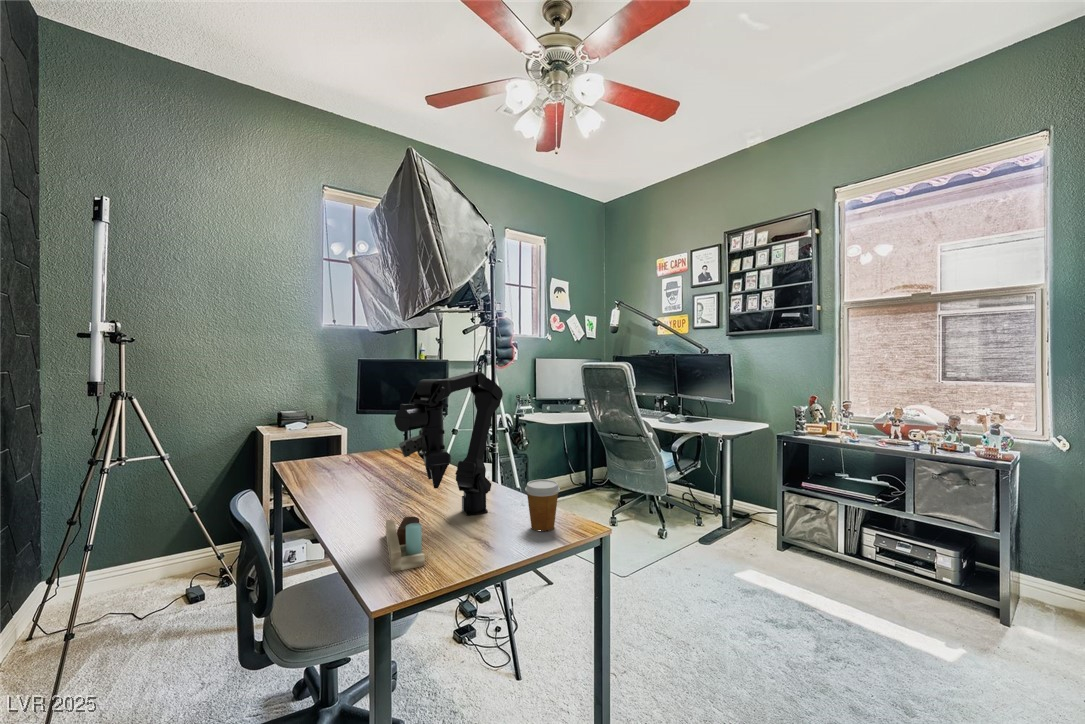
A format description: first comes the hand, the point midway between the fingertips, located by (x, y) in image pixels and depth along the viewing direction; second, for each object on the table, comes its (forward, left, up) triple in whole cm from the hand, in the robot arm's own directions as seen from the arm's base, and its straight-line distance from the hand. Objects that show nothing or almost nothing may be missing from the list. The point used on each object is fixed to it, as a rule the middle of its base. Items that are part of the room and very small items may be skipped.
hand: (433, 483), depth 118 cm
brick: (+7, +3, -13) cm, 15 cm away
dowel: (+7, +16, -13) cm, 22 cm away
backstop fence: (+9, +9, -13) cm, 18 cm away
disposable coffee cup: (-28, +10, -13) cm, 32 cm away
